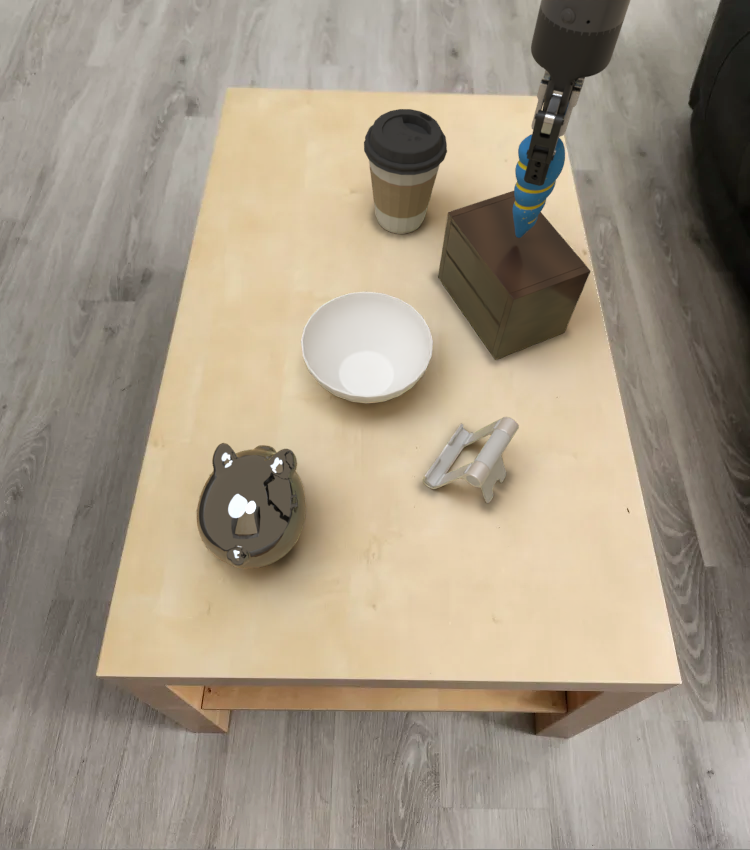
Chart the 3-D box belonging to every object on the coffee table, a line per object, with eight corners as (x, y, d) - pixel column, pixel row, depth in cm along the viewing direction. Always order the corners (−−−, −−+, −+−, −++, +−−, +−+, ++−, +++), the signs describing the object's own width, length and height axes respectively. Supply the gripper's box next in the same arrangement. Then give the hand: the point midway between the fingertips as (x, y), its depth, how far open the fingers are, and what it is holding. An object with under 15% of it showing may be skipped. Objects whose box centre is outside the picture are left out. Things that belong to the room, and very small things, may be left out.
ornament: (489, 235, 84) (514, 127, 71) (516, 214, 86) (544, 106, 73) (522, 257, 82) (553, 151, 69) (549, 236, 84) (584, 129, 71)
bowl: (367, 451, 83) (368, 421, 77) (278, 374, 88) (273, 341, 82) (453, 374, 89) (460, 341, 83) (365, 307, 94) (366, 271, 88)
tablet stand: (457, 431, 84) (467, 394, 77) (514, 462, 82) (529, 428, 75) (421, 483, 81) (428, 449, 73) (479, 518, 79) (492, 486, 71)
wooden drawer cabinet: (503, 254, 100) (521, 188, 90) (564, 332, 93) (591, 270, 82) (437, 277, 97) (447, 211, 87) (495, 360, 90) (513, 299, 80)
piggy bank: (317, 473, 81) (312, 424, 71) (298, 597, 73) (290, 562, 63) (224, 464, 81) (206, 414, 71) (196, 587, 74) (171, 550, 64)
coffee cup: (452, 217, 103) (467, 130, 91) (402, 256, 99) (409, 171, 86) (397, 181, 107) (403, 92, 94) (346, 217, 103) (345, 129, 90)
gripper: (612, 58, 56) (560, 217, 71) (637, -26, 63) (584, 134, 78) (524, 39, 57) (490, 199, 72) (558, -42, 64) (520, 119, 79)
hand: (539, 164), depth 75 cm, fingers closed on ornament, 5 cm apart
